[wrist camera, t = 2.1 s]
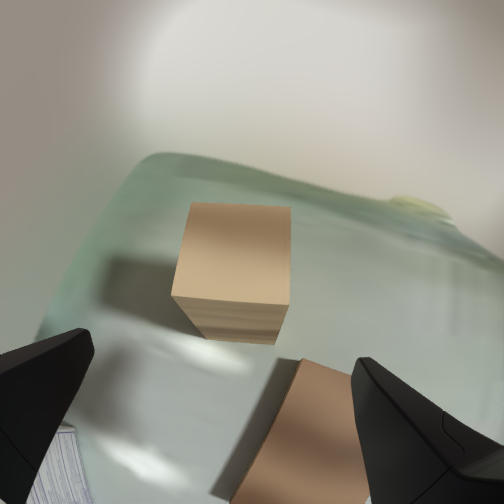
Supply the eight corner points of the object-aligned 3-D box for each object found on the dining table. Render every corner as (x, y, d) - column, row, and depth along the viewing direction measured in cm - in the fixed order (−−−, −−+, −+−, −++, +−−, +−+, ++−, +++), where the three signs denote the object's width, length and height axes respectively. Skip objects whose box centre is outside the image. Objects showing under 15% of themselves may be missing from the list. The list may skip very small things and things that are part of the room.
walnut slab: (338, 523, 12) (346, 532, 11) (231, 495, 14) (229, 505, 12) (399, 395, 18) (411, 394, 16) (298, 361, 19) (303, 358, 18)
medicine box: (42, 421, 15) (-29, 414, 8) (78, 426, 16) (4, 426, 8) (59, 498, 12) (-4, 513, 4) (97, 508, 12) (36, 536, 4)
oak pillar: (274, 344, 20) (289, 304, 11) (206, 339, 20) (170, 295, 12) (277, 282, 22) (290, 207, 14) (214, 277, 22) (191, 202, 14)
